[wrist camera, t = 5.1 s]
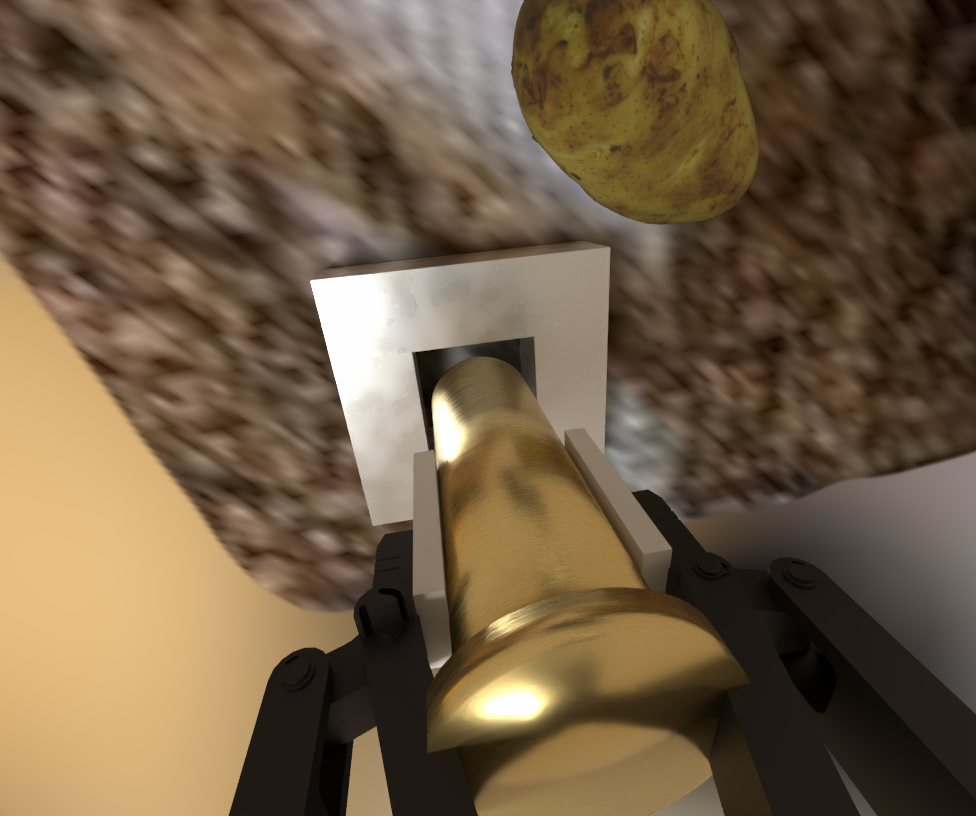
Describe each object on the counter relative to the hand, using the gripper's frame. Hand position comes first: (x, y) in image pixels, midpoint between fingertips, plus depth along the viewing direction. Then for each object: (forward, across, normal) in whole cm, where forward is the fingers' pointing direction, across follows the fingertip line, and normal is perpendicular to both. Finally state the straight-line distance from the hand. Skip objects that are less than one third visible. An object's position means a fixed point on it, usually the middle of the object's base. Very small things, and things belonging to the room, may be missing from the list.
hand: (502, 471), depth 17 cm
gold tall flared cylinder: (+6, 0, 0) cm, 6 cm away
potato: (+12, +8, +12) cm, 19 cm away
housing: (+11, 0, 0) cm, 11 cm away
